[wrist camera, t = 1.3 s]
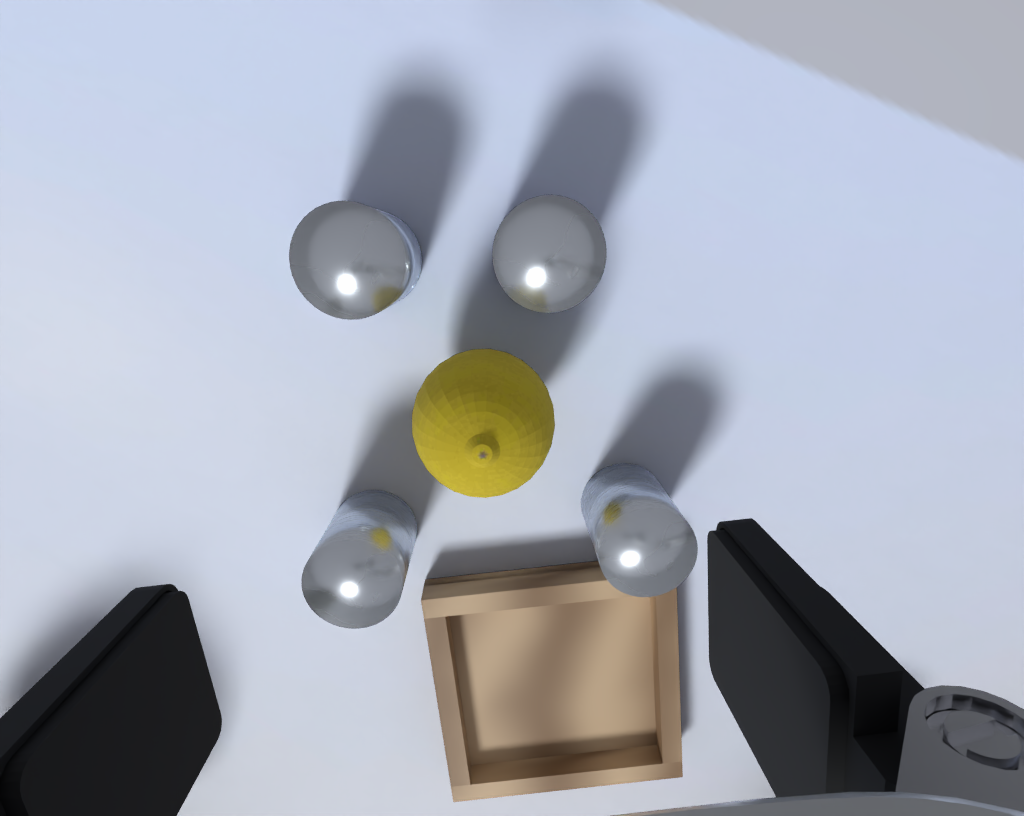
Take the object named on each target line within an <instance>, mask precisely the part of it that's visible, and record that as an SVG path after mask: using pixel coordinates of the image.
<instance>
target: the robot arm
mask: <svg viewBox="0 0 1024 816" xmlns="http://www.w3.org/2000/svg"><path fill="white" fill-rule="evenodd" d="M707 544H708V615H709V662H710V667H711V671H712V675H713V678H714V680H715V682H716V684H717V686H718V688H719V690H720V691H721V693H722V695H723V697H724V699H725V701H726V703H727V705H728V707H729V708H730V710H731V712H732V714H733V716H734V718H735V720H736V722H737V723H738V725H739V727H740V729H741V731H742V733H743V735H744V737H745V739H746V740H747V742H748V744H749V746H750V748H751V750H752V752H753V754H754V756H755V757H756V759H757V761H758V763H759V765H760V767H761V769H762V771H763V773H764V774H765V776H766V778H767V780H768V782H769V784H770V786H771V788H772V789H773V791H774V793H775V795H776V797H777V798H764V799H752V800H744V801H735V802H726V803H717V804H709V805H700V806H691V807H682V808H673V809H665V810H656V811H647V812H638V813H630V814H621V815H612V816H1024V709H1022V708H1020V707H1018V706H1017V705H1015V704H1013V703H1011V702H1009V701H1007V700H1005V699H1003V698H1000V697H997V696H995V695H992V694H989V693H987V692H984V691H980V690H976V689H971V688H966V687H962V686H942V685H941V686H936V687H931V688H926V689H924V688H923V687H922V686H921V685H920V684H919V683H918V682H917V681H916V680H915V679H914V678H913V677H912V676H911V675H910V674H909V673H908V672H907V671H906V670H905V669H904V668H903V667H902V666H901V665H900V664H899V663H898V662H897V661H896V660H895V659H894V658H893V657H892V656H891V655H890V654H889V653H888V652H887V651H886V650H885V649H884V648H883V647H882V646H881V645H880V644H879V643H878V642H877V641H876V640H875V639H874V638H873V637H872V636H871V635H870V634H869V633H868V632H867V631H866V630H865V629H864V628H863V627H862V626H861V625H860V624H859V623H858V621H857V620H856V619H855V618H854V617H853V616H852V615H851V614H850V613H849V612H848V611H847V610H846V609H845V608H844V607H843V606H842V605H841V604H840V603H839V602H838V601H837V600H836V599H835V598H834V597H833V596H832V595H831V594H830V593H829V592H827V591H826V590H825V589H823V588H822V587H820V586H819V585H818V584H817V583H816V582H815V581H814V580H813V579H812V578H811V577H810V576H809V575H808V574H807V573H806V572H805V571H804V570H803V569H802V568H801V567H800V566H799V565H798V564H797V563H796V562H795V561H794V560H793V559H792V558H791V557H790V556H789V555H788V554H787V553H786V552H785V551H784V550H783V549H782V548H781V547H780V546H779V545H778V544H777V543H776V542H775V541H774V540H773V539H772V538H771V537H770V535H769V534H768V533H767V532H766V531H765V530H764V529H763V528H762V527H761V526H760V525H759V524H758V523H757V522H756V521H755V520H753V519H752V518H751V519H741V520H732V521H723V522H719V523H718V525H717V530H716V531H710V532H709V533H708V540H707ZM221 725H222V718H221V713H220V709H219V706H218V702H217V699H216V695H215V691H214V688H213V684H212V681H211V677H210V674H209V670H208V667H207V663H206V659H205V656H204V652H203V649H202V645H201V642H200V638H199V635H198V631H197V627H196V624H195V620H194V617H193V613H192V610H191V606H190V603H189V599H188V597H187V595H186V594H185V592H183V591H178V589H177V588H176V587H175V586H174V585H171V584H166V585H157V586H148V587H140V588H135V589H134V590H132V591H131V592H130V593H129V594H128V595H127V596H126V597H125V598H124V599H123V600H122V601H120V602H119V603H118V604H117V605H116V606H115V607H114V608H113V609H112V610H111V611H110V612H109V613H108V614H107V615H106V616H105V617H104V618H103V619H102V620H101V621H100V622H99V623H98V624H97V625H96V626H95V627H94V628H93V629H92V630H91V631H90V632H89V633H88V634H87V635H86V636H85V637H84V638H82V639H81V640H80V641H79V642H78V643H77V644H76V645H75V646H74V647H73V648H72V649H71V650H70V651H69V652H68V653H67V654H66V655H65V656H64V657H63V658H62V659H61V660H60V661H59V662H58V663H57V664H56V665H55V666H54V667H53V668H52V669H51V670H50V671H49V672H48V673H47V674H45V675H44V676H43V677H42V678H41V679H40V680H39V681H38V682H37V683H36V684H35V685H34V686H33V687H32V688H31V689H30V690H29V691H28V692H27V693H26V694H25V695H24V696H23V697H22V698H21V699H20V700H19V701H18V702H17V703H16V704H15V705H14V706H13V707H12V708H11V709H10V710H9V711H7V712H6V713H5V714H4V715H3V716H2V717H1V718H0V816H177V814H178V812H179V810H180V808H181V806H182V805H183V803H184V801H185V799H186V797H187V795H188V793H189V792H190V790H191V788H192V786H193V784H194V782H195V781H196V779H197V777H198V775H199V773H200V771H201V769H202V768H203V766H204V764H205V762H206V760H207V758H208V757H209V755H210V753H211V751H212V749H213V747H214V746H215V744H216V742H217V740H218V738H219V735H220V731H221Z"/></svg>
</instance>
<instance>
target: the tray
mask: <svg viewBox="0 0 1024 816" xmlns="http://www.w3.org/2000/svg"><path fill="white" fill-rule="evenodd" d="M421 603H422V609H423V615H424V622H425V628H426V634H427V640H428V646H429V653H430V659H431V665H432V671H433V677H434V684H435V690H436V696H437V702H438V709H439V715H440V721H441V727H442V733H443V740H444V746H445V752H446V758H447V765H448V771H449V777H450V783H451V789H452V796H453V802H459V801H468V800H477V799H486V798H495V797H504V796H513V795H523V794H532V793H541V792H550V791H559V790H568V789H577V788H587V787H596V786H605V785H614V784H623V783H632V782H641V781H650V780H660V779H669V778H678V777H683V775H682V743H681V710H680V678H679V646H678V614H677V587H676V588H674V589H673V590H671V591H669V592H667V593H664V594H662V595H658V596H653V597H636V596H631V595H628V594H625V593H623V592H621V591H619V590H618V589H616V588H615V587H613V586H612V585H611V584H610V583H609V582H608V581H607V579H606V578H605V576H604V574H603V572H602V570H601V567H600V564H599V561H593V562H584V563H574V564H565V565H556V566H546V567H537V568H528V569H518V570H509V571H500V572H491V573H481V574H472V575H463V576H453V577H444V578H435V579H425V583H424V588H423V593H422V598H421Z"/></svg>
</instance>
